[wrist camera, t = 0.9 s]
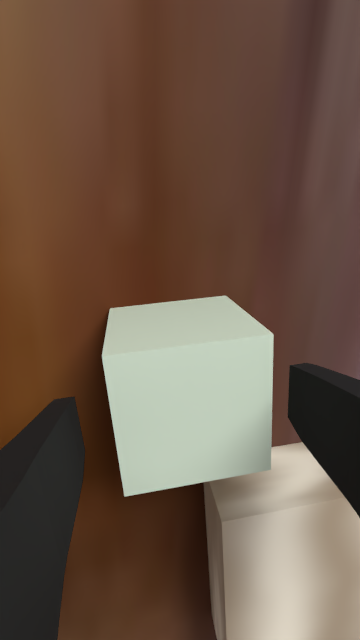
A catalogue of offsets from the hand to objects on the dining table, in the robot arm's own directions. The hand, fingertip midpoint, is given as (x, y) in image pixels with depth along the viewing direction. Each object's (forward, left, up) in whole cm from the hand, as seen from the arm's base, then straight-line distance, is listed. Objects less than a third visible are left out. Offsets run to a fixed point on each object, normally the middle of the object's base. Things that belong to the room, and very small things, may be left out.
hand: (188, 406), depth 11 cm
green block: (0, 0, -4) cm, 4 cm away
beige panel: (-7, +12, -5) cm, 15 cm away
